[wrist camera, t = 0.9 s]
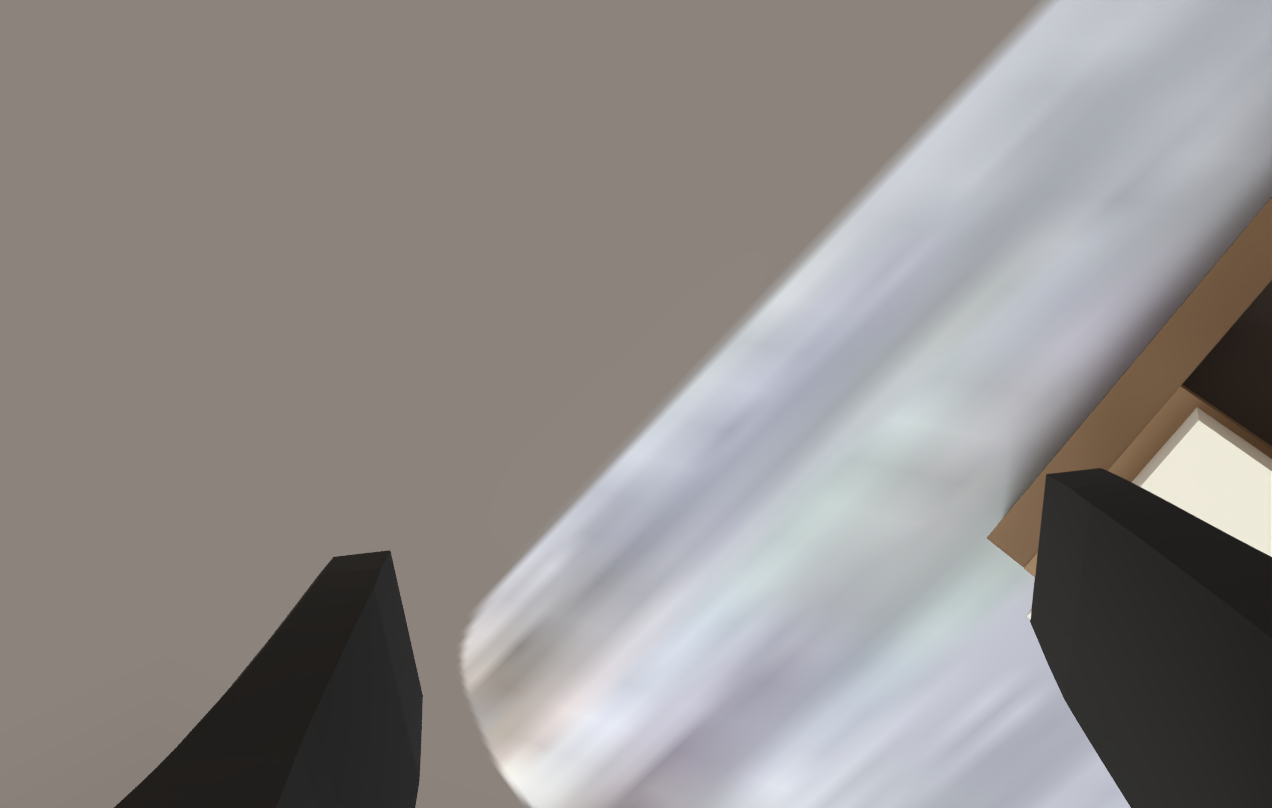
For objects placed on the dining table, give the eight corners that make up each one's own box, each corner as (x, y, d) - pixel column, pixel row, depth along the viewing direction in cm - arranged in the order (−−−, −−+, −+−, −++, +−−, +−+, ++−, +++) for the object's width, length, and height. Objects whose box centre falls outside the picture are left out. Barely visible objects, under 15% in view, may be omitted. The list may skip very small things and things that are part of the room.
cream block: (1405, 552, 21) (1455, 600, 17) (1240, 718, 23) (1251, 798, 19) (1197, 406, 23) (1198, 420, 19) (1053, 571, 24) (1026, 616, 20)
